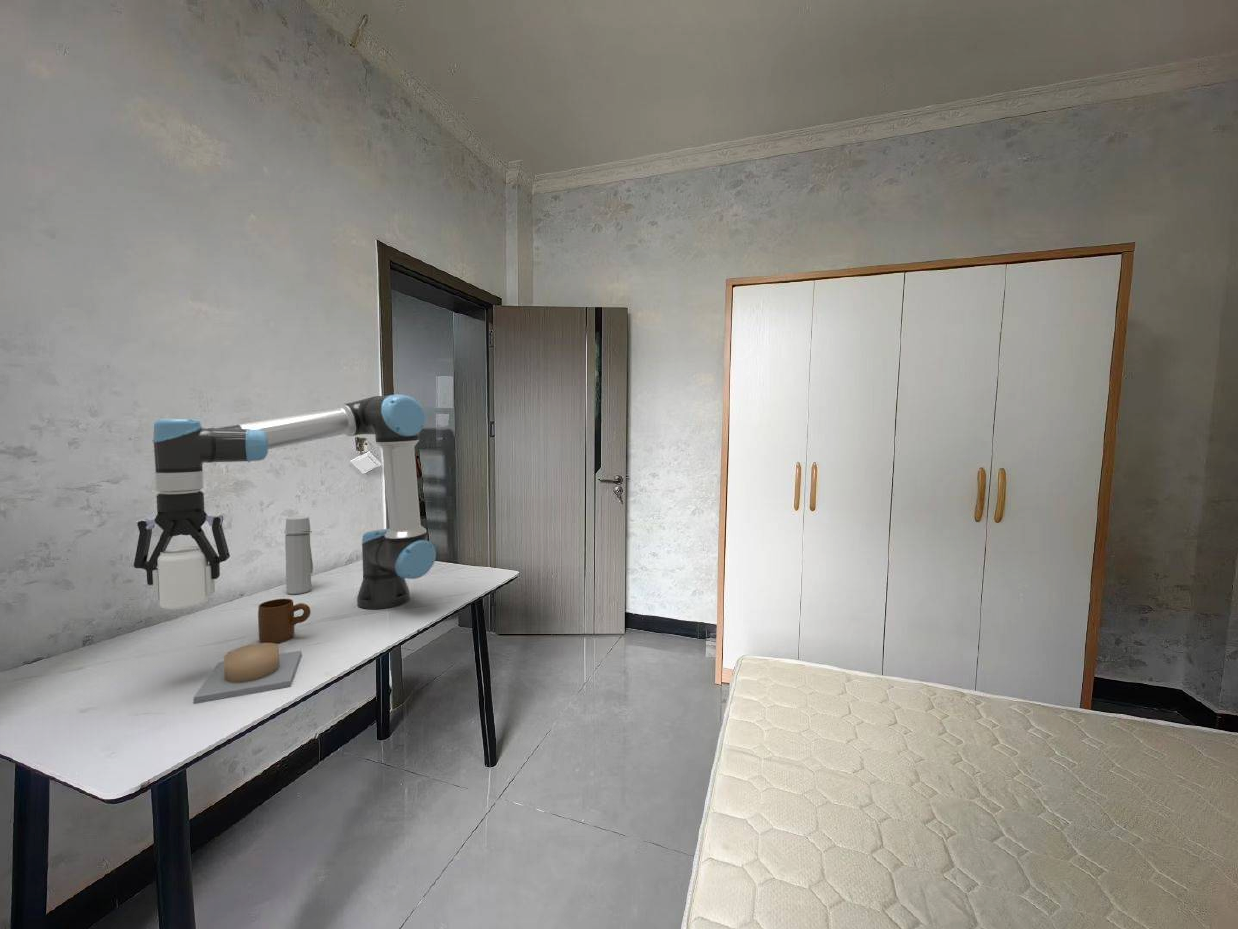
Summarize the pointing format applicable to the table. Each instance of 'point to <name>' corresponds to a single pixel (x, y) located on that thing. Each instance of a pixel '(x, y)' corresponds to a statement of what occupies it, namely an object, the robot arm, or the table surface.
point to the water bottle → (298, 555)
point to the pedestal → (249, 672)
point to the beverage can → (182, 577)
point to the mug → (279, 619)
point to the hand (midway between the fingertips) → (185, 596)
